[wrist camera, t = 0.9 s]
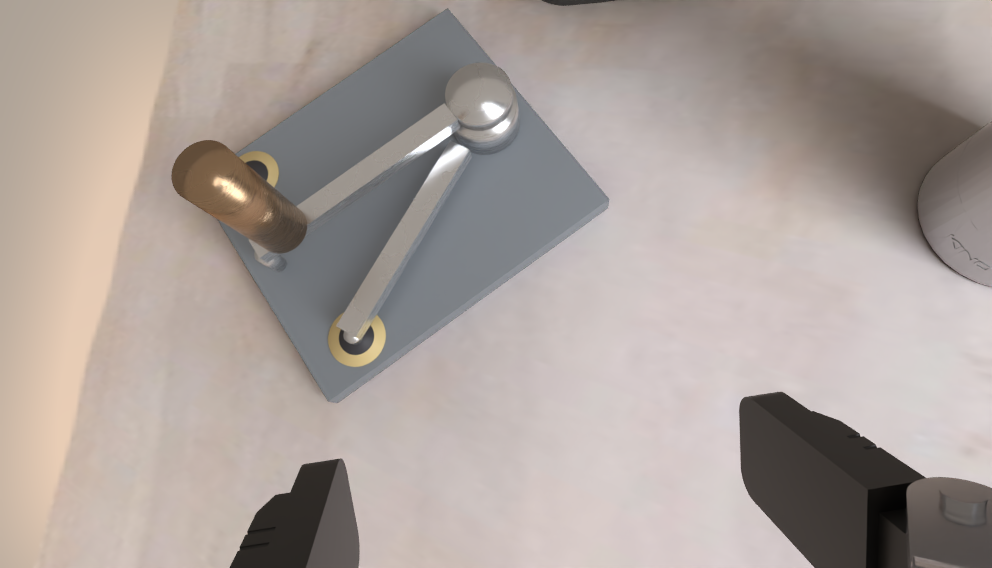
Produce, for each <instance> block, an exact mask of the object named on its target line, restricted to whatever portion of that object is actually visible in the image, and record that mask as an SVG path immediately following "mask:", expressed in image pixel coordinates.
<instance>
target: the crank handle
mask: <svg viewBox="0 0 992 568" xmlns="http://www.w3.org/2000/svg"><path fill="white" fill-rule="evenodd" d="M445 100H446V103H447V106H448V107H447V106H446V105H445V103H444V104H442V105H441V106H439V107H438V108H437V109H435V110H434V111H432V112H431V113H429V114H428V115H427V116H425V117H424V118H422V119H421V120H419V121H418V122H416V123H415V124H414V125H412V126H411V127H409V128H408V129H406V130H405V131H404V132H402V133H401V134H399V135H398V136H396V137H395V138H394V139H392V140H391V141H389V142H388V143H386V144H385V145H383V146H382V147H381V148H379V149H378V150H376V151H375V152H373V153H372V154H371V155H369V156H368V157H366V158H365V159H363V160H362V161H361V162H359V163H358V164H356V165H355V166H353V167H352V168H350V169H349V170H348V171H346V172H345V173H343V174H342V175H340V176H339V177H338V178H336V179H335V180H333V181H332V182H330V183H329V184H328V185H326V186H325V187H323V188H322V189H320V190H319V191H318V192H316V193H315V194H313V195H312V196H310V197H309V198H307V199H306V200H305V201H303V202H302V203H300V204H299V205H297V206H295V205H294V204H293V203H292V202H290V201H289V200H288V199H287V198H286V197H285V196H283V195H282V194H281V193H280V192H279V191H278V190H276V189H275V188H274V187H273V186H272V185H271V184H269V183H268V182H267V181H266V180H265V179H263V178H262V177H261V176H260V175H259V174H258V173H256V172H255V171H254V170H253V169H252V168H251V167H249V166H248V165H247V164H246V163H245V162H244V161H242V160H241V159H240V158H239V157H238V156H237V155H235V154H234V153H233V152H232V151H231V150H230V149H228V148H227V147H226V146H225V145H223V144H222V143H220V142H217V141H212V140H205V141H200V142H197V143H194V144H192V145H190V146H189V147H187V148H186V149H185V150H184V151H183V152H182V153H181V154H180V155H179V156H178V158H177V159H176V161H175V163H174V166H173V169H172V183H173V186H174V188H175V190H176V191H177V193H178V194H179V195H180V196H182V197H183V198H185V199H186V200H188V201H189V202H191V203H193V204H194V205H196V206H197V207H199V208H201V209H202V210H204V211H205V212H207V213H209V214H210V215H212V216H213V217H215V218H217V219H218V220H220V221H221V222H223V223H225V224H226V225H228V226H229V227H231V228H233V229H234V230H236V231H237V232H239V233H241V234H242V235H244V236H245V237H247V238H249V242H250V244H251V245H252V247H253V248H254V250H255V253H254V257H255V259H256V260H257V261H258V262H260V263H262V264H263V265H265V266H267V267H269V268H270V269H272V270H274V271H276V272H281V271H283V270H284V269H285V268H286V265H287V261H286V259H285V258H284V257H282V256H280V254H282V253H287V252H290V251H292V250H294V249H295V248H296V247H298V246H299V245H300V244H301V242H302V241H303V239H304V238H305V237H306V236H307V235H308V234H310V233H311V232H313V231H314V230H316V229H317V228H318V227H320V226H321V225H323V224H324V223H326V222H327V221H328V220H330V219H331V218H333V217H334V216H336V215H337V214H338V213H340V212H341V211H343V210H344V209H346V208H347V207H348V206H350V205H351V204H353V203H354V202H356V201H357V200H358V199H360V198H361V197H363V196H364V195H366V194H367V193H368V192H370V191H371V190H373V189H374V188H376V187H377V186H378V185H380V184H381V183H383V182H384V181H385V180H387V179H388V178H390V177H391V176H393V175H394V174H395V173H397V172H398V171H400V170H401V169H403V168H404V167H405V166H407V165H408V164H410V163H411V162H413V161H414V160H415V159H417V158H418V157H420V156H421V155H423V154H424V153H425V152H427V151H428V150H430V149H431V148H433V147H434V146H435V145H437V144H438V143H440V142H441V141H443V140H444V139H445V138H447V137H448V136H450V135H451V134H453V133H454V132H455V131H457V130H458V129H460V126H461V127H463V128H465V129H468V130H472V131H485V130H489V129H492V128H494V127H496V126H498V125H499V124H501V123H502V122H503V121H504V120H505V119H506V118H507V116H508V115H509V113H510V112H511V109H512V106H513V92H512V86H511V82H510V79H509V77H508V76H507V74H506V73H505V72H504V71H503V70H502V69H500V68H499V67H497V66H495V65H493V64H490V63H482V62H479V63H472V64H469V65H466V66H464V67H462V68H461V69H459V70H458V71H456V72H455V73H454V74H453V76H452V77H451V78H450V80H449V81H448V84H447V86H446V90H445ZM459 125H460V126H459Z"/></svg>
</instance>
